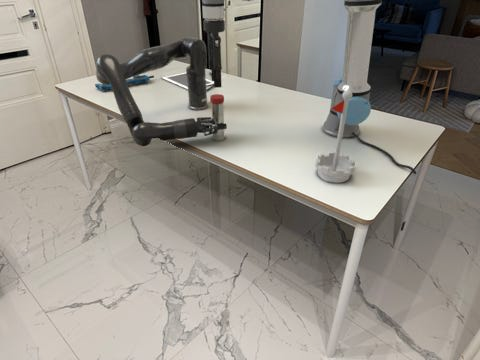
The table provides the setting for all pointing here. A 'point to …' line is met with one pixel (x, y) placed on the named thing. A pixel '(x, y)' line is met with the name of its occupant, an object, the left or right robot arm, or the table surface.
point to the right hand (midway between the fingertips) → (216, 83)
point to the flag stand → (337, 151)
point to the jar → (218, 119)
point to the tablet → (182, 80)
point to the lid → (216, 99)
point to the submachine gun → (135, 80)
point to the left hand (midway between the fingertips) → (224, 123)
